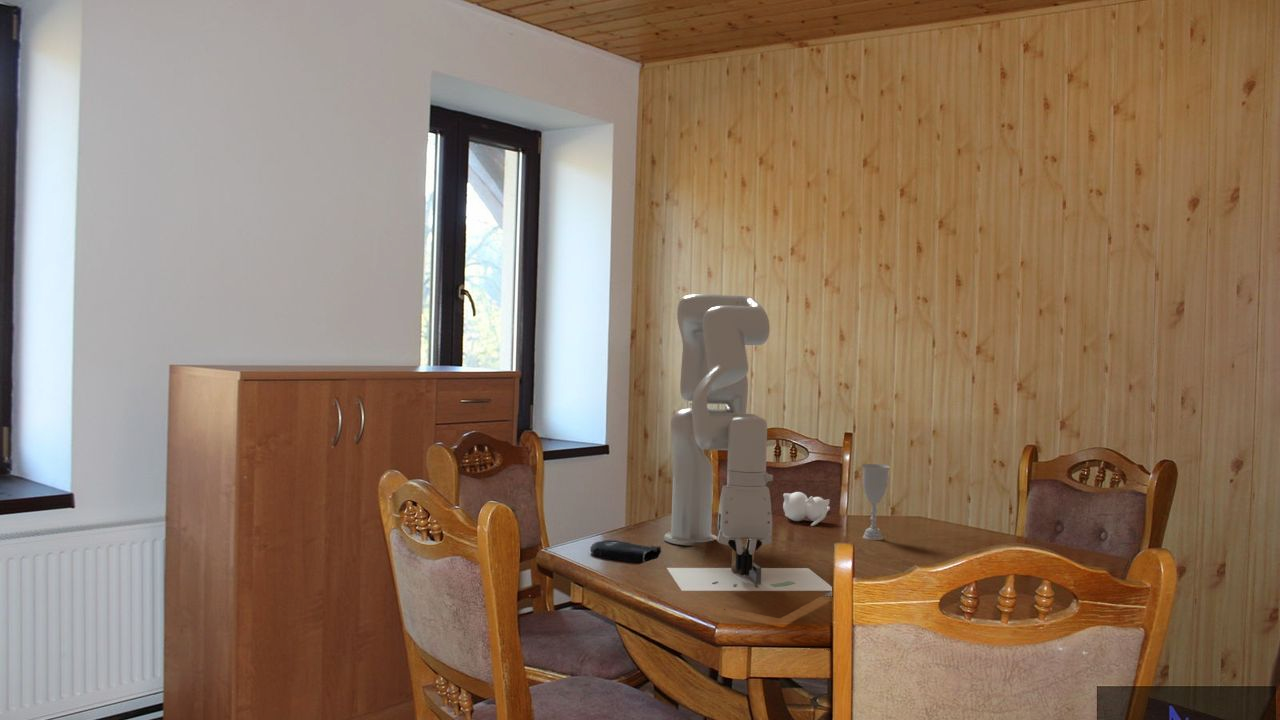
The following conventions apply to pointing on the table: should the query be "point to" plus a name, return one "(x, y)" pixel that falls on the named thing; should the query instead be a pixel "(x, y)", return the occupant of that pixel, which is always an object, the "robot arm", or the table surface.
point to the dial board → (749, 580)
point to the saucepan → (753, 574)
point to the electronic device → (624, 551)
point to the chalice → (874, 493)
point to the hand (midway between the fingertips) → (743, 573)
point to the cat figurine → (805, 507)
